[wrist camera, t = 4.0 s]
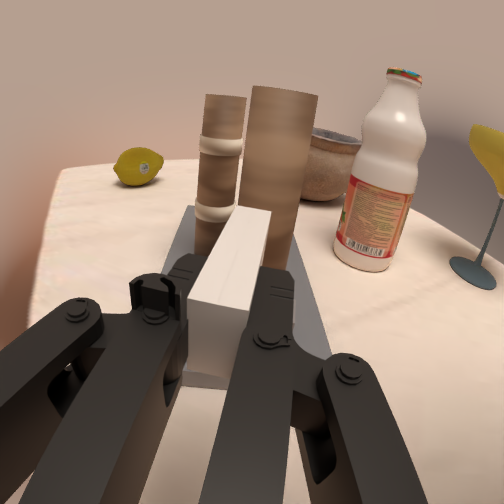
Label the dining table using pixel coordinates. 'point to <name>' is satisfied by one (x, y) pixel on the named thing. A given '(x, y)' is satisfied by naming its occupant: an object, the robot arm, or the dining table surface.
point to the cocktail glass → (500, 168)
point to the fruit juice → (383, 176)
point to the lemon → (138, 166)
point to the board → (304, 312)
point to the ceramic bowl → (328, 165)
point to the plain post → (277, 163)
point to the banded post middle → (217, 168)
